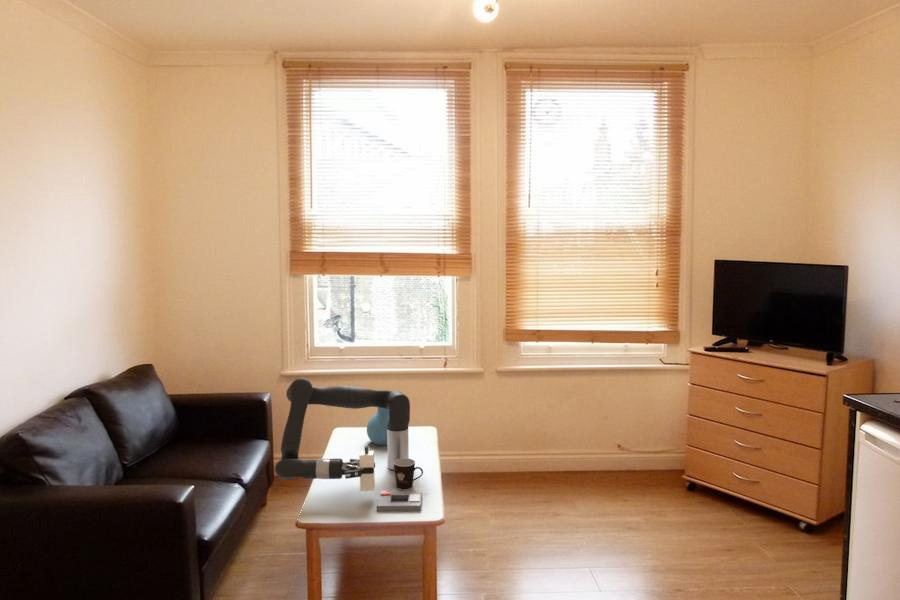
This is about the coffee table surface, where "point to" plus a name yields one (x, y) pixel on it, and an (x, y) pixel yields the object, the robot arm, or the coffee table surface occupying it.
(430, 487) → the coffee table surface
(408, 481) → the coffee mug
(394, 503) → the socket
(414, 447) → the coffee table surface
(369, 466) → the plug
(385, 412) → the vase
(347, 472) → the robot arm
